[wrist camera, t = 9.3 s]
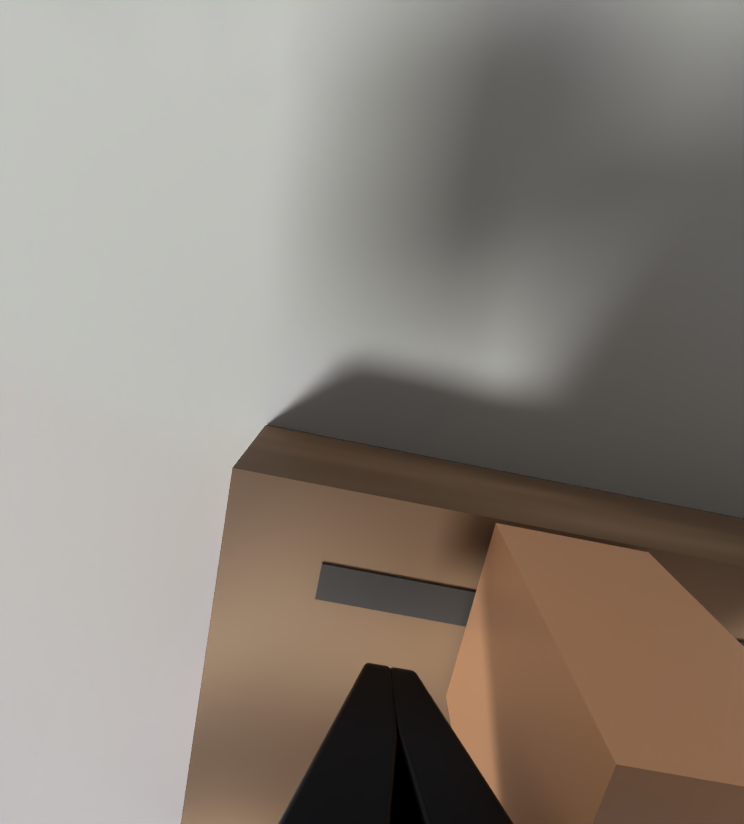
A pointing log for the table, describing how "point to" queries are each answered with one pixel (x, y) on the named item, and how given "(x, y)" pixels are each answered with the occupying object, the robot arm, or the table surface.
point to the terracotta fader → (597, 688)
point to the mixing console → (380, 592)
